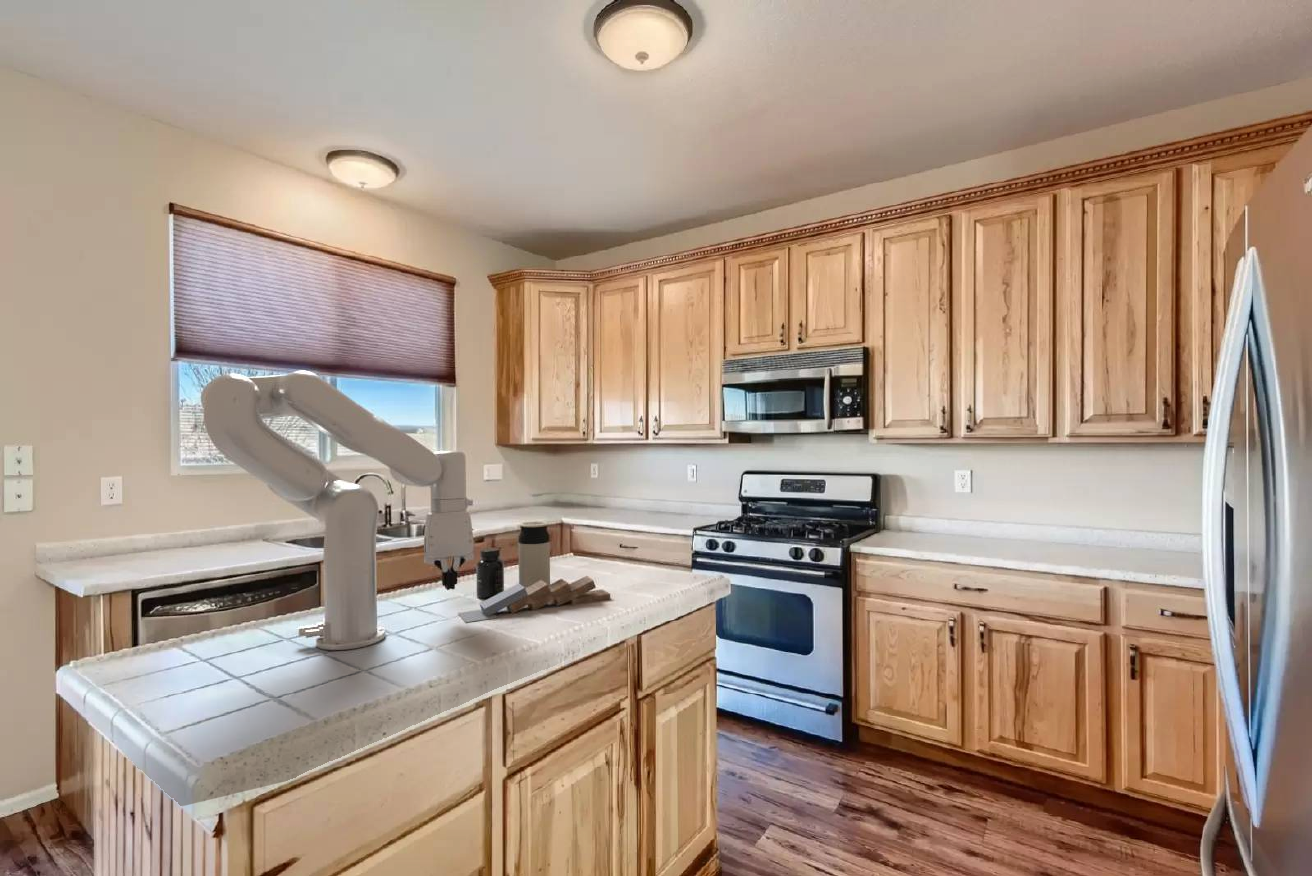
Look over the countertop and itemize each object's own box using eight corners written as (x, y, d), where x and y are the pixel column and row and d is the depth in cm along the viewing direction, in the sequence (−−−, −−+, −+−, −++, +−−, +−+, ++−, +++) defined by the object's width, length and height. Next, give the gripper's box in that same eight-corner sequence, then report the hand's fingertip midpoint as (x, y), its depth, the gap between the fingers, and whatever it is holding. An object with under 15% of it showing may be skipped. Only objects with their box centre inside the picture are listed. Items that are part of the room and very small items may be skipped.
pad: (465, 622, 137) (465, 622, 137) (458, 613, 144) (458, 612, 144) (497, 618, 141) (497, 617, 141) (488, 609, 148) (488, 608, 148)
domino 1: (484, 608, 141) (524, 587, 145) (479, 603, 145) (518, 583, 150) (487, 616, 141) (528, 595, 146) (482, 611, 146) (521, 590, 150)
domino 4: (555, 598, 149) (593, 580, 153) (550, 593, 154) (587, 575, 157) (558, 606, 149) (596, 587, 153) (553, 600, 154) (589, 582, 158)
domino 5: (572, 599, 151) (610, 593, 155) (565, 594, 155) (602, 589, 160) (572, 607, 151) (610, 601, 155) (565, 602, 155) (602, 597, 160)
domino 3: (530, 603, 146) (568, 583, 150) (524, 598, 150) (561, 578, 155) (533, 610, 146) (571, 590, 151) (527, 605, 151) (564, 585, 155)
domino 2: (509, 606, 144) (547, 584, 148) (503, 601, 148) (541, 579, 152) (512, 613, 144) (550, 591, 148) (507, 608, 148) (544, 586, 153)
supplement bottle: (471, 598, 158) (470, 551, 157) (486, 591, 164) (485, 546, 164) (495, 600, 156) (494, 552, 155) (509, 593, 162) (508, 547, 162)
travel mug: (542, 596, 159) (541, 525, 158) (513, 595, 160) (512, 525, 160) (554, 589, 166) (554, 521, 166) (527, 587, 168) (526, 520, 168)
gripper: (478, 502, 146) (479, 580, 146) (410, 506, 139) (411, 589, 139) (486, 505, 140) (487, 587, 140) (415, 510, 132) (416, 596, 133)
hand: (449, 588), depth 140 cm, fingers closed
